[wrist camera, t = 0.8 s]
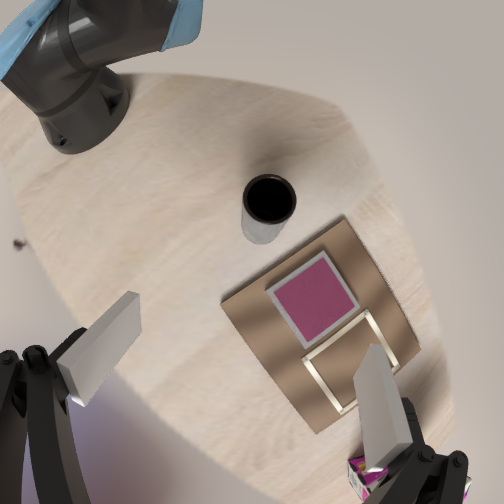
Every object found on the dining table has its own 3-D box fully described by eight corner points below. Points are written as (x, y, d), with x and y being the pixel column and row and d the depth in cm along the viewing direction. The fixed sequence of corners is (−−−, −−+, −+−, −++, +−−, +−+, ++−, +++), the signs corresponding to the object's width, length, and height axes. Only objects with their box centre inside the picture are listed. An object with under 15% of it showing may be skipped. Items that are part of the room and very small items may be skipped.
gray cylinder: (275, 204, 33) (289, 170, 23) (283, 240, 33) (302, 219, 23) (238, 211, 33) (237, 178, 23) (245, 248, 32) (248, 229, 22)
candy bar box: (347, 481, 28) (389, 546, 12) (346, 460, 29) (394, 527, 13) (409, 454, 29) (465, 501, 13) (411, 432, 30) (474, 478, 14)
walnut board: (220, 304, 31) (219, 304, 30) (341, 220, 33) (345, 218, 32) (314, 431, 30) (316, 435, 28) (417, 348, 32) (421, 349, 30)
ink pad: (264, 290, 31) (265, 291, 29) (320, 251, 32) (324, 249, 30) (303, 347, 30) (306, 350, 29) (356, 306, 31) (361, 307, 30)
